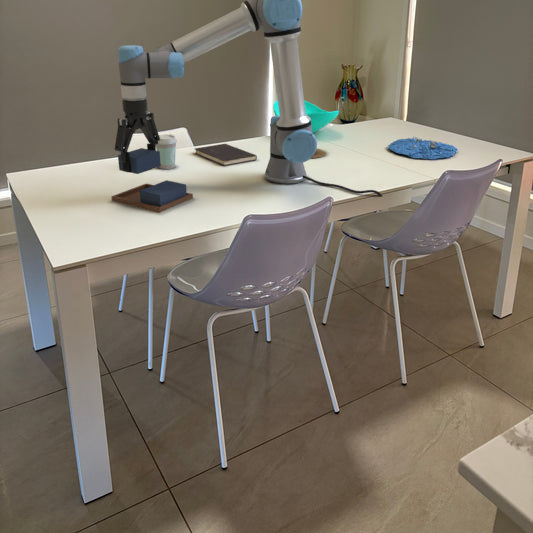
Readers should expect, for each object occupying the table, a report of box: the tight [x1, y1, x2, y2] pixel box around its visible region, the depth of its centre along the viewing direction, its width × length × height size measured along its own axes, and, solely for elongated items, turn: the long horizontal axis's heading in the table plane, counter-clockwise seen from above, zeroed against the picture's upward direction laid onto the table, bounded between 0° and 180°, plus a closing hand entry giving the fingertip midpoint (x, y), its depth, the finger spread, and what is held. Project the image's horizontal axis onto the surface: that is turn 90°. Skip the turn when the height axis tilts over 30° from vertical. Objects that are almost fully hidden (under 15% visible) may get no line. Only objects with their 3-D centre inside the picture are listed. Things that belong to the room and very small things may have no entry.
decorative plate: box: [387, 136, 459, 160], centre depth 256 cm, size 30×30×5 cm
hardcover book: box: [194, 143, 258, 167], centre depth 244 cm, size 16×23×2 cm
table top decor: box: [272, 99, 340, 134], centre depth 284 cm, size 40×28×13 cm
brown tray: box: [111, 183, 194, 213], centre depth 194 cm, size 21×17×2 cm
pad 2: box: [140, 179, 188, 207], centre depth 191 cm, size 8×13×5 cm, turn 148°
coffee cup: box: [156, 134, 178, 170], centre depth 228 cm, size 8×9×12 cm
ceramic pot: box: [310, 148, 327, 159], centre depth 250 cm, size 18×18×7 cm
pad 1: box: [117, 147, 161, 175], centre depth 191 cm, size 8×11×5 cm
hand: (140, 167), depth 192 cm, fingers closed on pad 1, 11 cm apart
